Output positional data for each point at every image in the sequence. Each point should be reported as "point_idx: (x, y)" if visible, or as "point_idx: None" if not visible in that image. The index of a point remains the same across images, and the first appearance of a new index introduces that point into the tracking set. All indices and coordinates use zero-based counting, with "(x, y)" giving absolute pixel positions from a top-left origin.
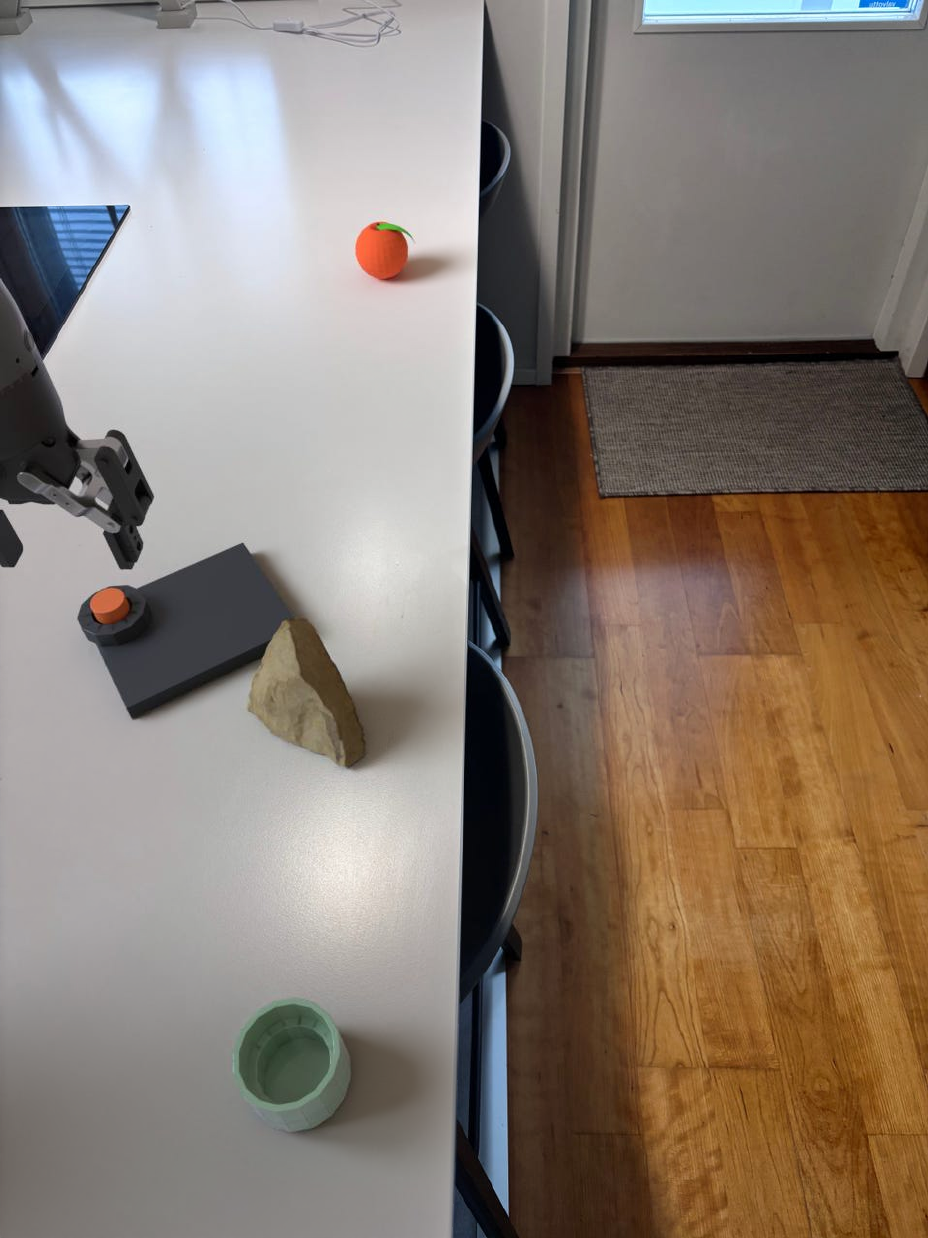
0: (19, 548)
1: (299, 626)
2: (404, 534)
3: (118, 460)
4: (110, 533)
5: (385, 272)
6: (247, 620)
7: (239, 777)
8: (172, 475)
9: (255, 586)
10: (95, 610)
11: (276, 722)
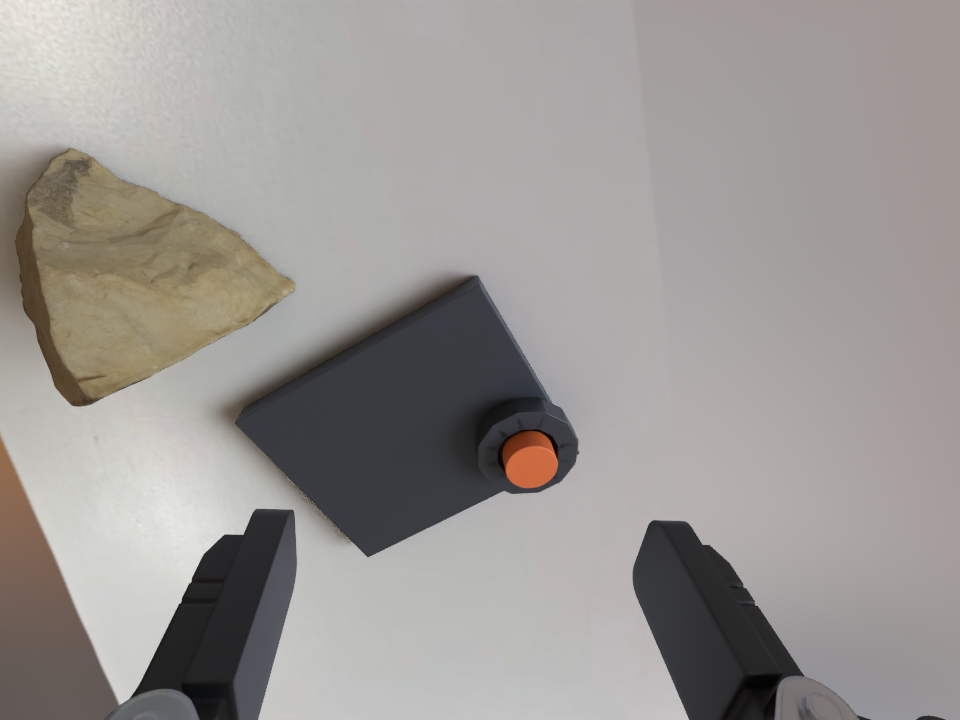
0: (641, 580)
1: (70, 386)
2: (146, 566)
3: None
4: (193, 682)
5: None
6: (323, 434)
7: (271, 149)
8: (498, 644)
9: (328, 489)
10: (546, 450)
11: (211, 240)
